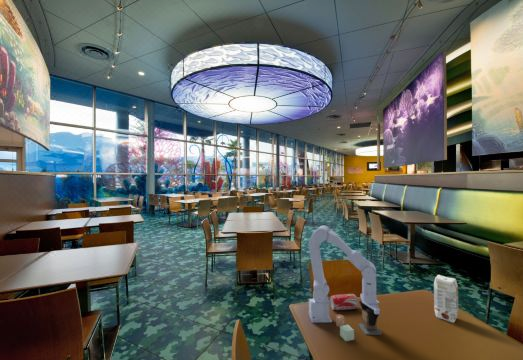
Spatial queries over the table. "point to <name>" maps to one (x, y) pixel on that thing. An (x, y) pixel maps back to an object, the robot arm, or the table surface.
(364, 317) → the walnut block
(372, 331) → the slate coaster
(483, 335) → the table surface
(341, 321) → the pinkish brown rounded cylinder
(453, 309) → the white food bag
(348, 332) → the pale green cube
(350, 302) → the soda can
